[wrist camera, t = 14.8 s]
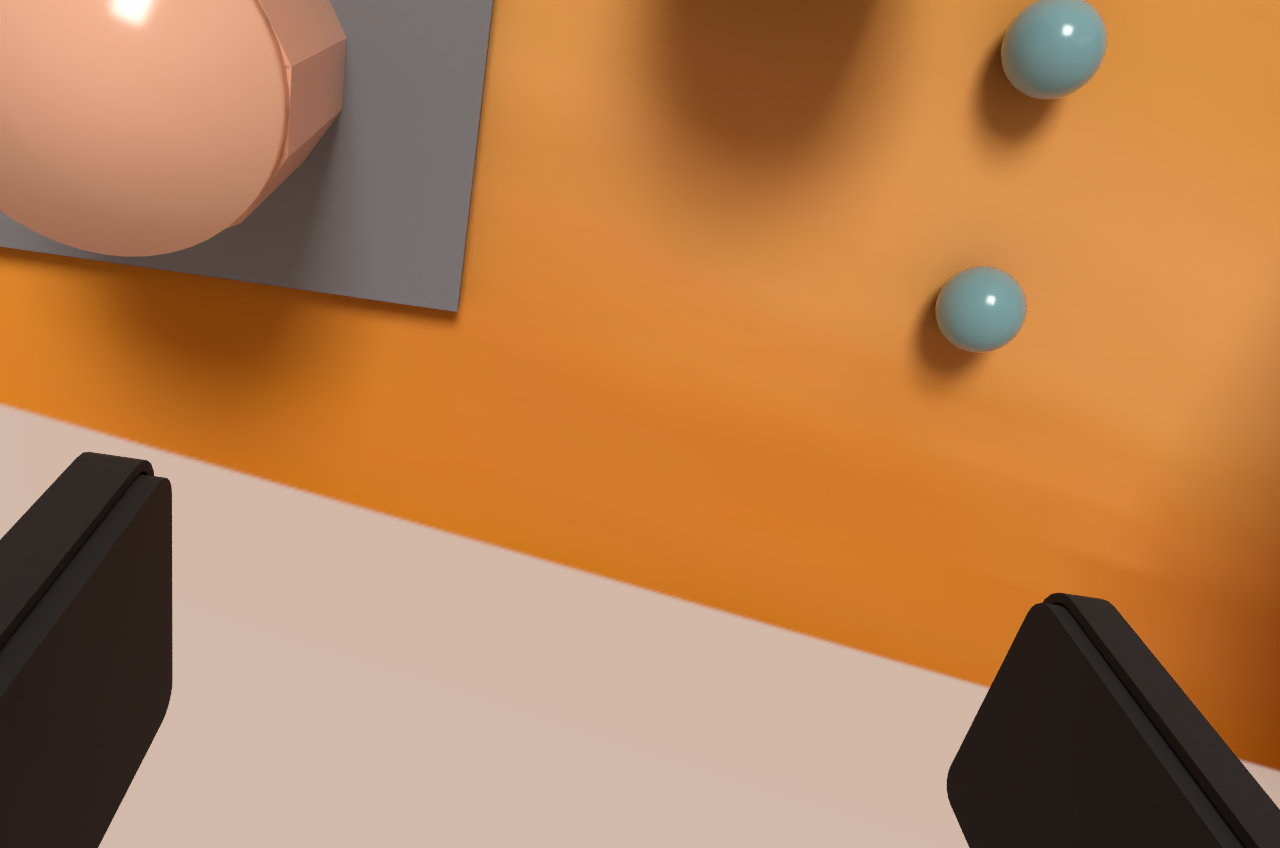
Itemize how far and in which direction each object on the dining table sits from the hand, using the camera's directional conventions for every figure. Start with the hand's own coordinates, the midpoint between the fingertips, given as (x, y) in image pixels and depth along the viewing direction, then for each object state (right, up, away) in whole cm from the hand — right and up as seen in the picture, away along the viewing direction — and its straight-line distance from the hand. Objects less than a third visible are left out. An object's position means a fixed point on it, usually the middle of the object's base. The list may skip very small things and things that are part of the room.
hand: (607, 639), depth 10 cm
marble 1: (+12, +6, +23) cm, 26 cm away
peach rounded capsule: (-12, +13, +17) cm, 25 cm away
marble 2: (+13, +14, +19) cm, 27 cm away
